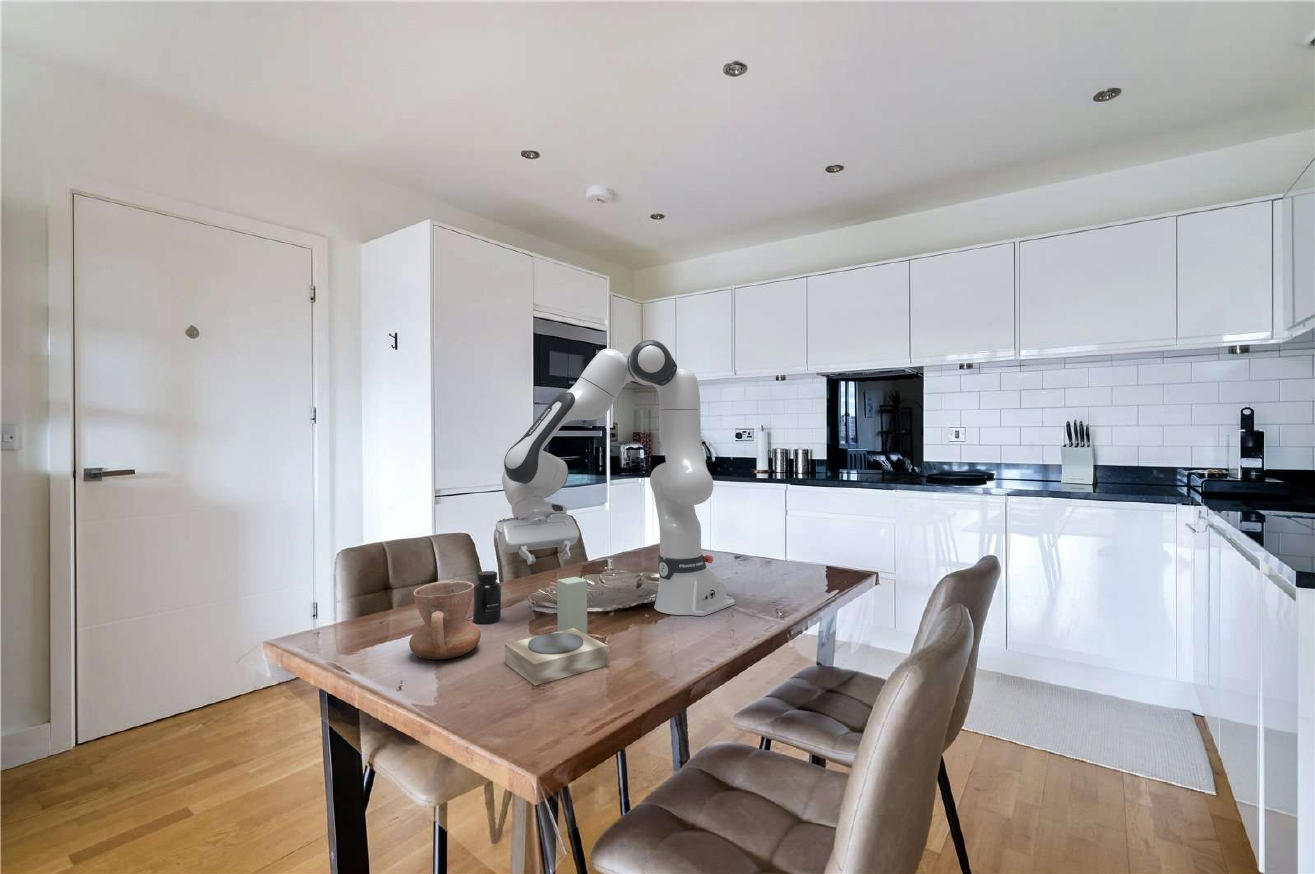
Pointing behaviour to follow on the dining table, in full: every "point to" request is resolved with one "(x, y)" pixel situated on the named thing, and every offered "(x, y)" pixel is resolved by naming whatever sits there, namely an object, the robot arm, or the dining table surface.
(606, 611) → the dining table surface
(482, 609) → the supplement bottle
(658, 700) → the dining table surface
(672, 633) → the dining table surface
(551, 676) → the birch base
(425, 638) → the ceramic jug
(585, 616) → the sage block
